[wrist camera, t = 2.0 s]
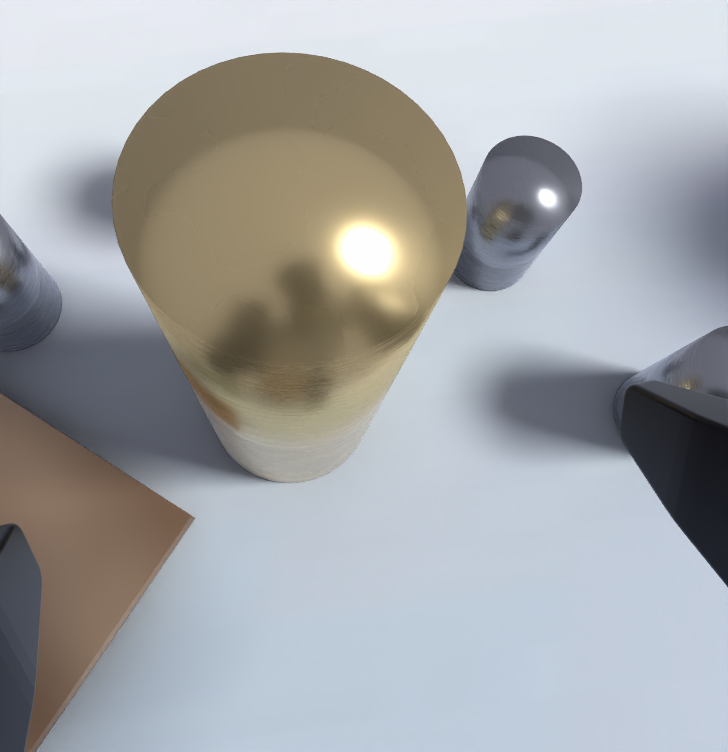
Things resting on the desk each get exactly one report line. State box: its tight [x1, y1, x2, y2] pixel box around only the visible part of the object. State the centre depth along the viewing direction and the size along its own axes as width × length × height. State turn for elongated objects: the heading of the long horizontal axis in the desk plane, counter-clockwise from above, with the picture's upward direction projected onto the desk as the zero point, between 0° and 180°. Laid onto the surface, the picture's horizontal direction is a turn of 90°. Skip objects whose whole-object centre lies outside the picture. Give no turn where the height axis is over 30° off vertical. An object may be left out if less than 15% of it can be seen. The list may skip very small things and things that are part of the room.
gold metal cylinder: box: [112, 53, 467, 483], centre depth 15 cm, size 5×5×12 cm
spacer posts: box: [0, 136, 728, 430], centre depth 20 cm, size 8×25×4 cm, turn 82°
